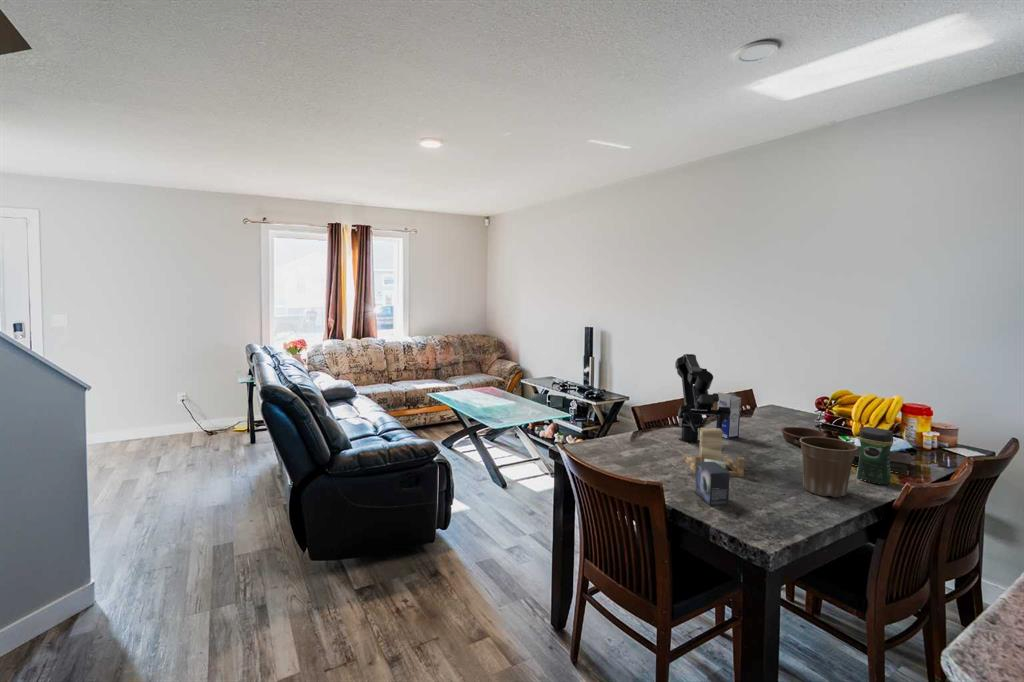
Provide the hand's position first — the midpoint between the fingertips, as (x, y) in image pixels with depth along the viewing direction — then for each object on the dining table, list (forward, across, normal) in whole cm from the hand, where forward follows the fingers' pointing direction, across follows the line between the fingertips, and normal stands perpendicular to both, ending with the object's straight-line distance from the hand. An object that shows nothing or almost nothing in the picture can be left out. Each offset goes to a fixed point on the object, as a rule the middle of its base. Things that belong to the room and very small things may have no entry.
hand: (707, 431), depth 200 cm
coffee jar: (+18, +53, 0) cm, 56 cm away
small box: (+35, -8, -18) cm, 40 cm away
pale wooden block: (+12, 0, +5) cm, 13 cm away
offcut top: (+15, 0, -2) cm, 15 cm away
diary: (+3, +63, +14) cm, 64 cm away
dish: (-15, +49, +32) cm, 61 cm away
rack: (+14, 0, +2) cm, 15 cm away
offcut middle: (+16, 0, -1) cm, 16 cm away
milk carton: (-19, +19, +35) cm, 44 cm away
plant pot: (+26, +31, -9) cm, 42 cm away
